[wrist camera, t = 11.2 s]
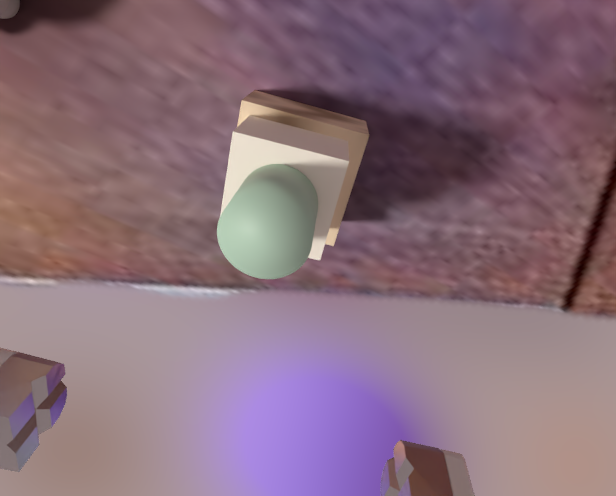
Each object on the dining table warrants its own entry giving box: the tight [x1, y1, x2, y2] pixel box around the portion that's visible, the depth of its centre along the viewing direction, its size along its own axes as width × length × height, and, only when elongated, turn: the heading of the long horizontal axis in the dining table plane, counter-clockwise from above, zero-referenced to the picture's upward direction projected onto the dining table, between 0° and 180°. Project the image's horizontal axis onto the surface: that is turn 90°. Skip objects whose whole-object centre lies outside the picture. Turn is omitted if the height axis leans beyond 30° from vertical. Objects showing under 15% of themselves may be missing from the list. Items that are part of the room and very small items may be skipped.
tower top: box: [220, 115, 349, 261], centre depth 28 cm, size 7×7×5 cm
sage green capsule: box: [217, 164, 318, 279], centre depth 24 cm, size 5×5×5 cm
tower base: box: [237, 90, 369, 246], centre depth 33 cm, size 9×9×5 cm
